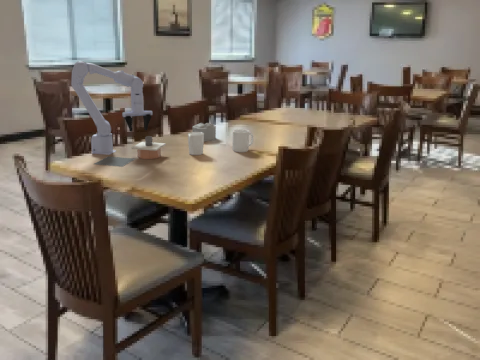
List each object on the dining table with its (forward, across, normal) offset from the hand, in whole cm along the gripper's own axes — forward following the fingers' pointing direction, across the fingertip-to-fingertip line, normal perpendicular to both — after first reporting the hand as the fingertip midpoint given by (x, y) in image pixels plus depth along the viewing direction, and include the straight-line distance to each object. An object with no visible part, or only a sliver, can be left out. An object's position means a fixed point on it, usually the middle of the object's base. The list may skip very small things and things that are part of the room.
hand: (138, 130), depth 221 cm
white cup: (+11, +23, -17) cm, 30 cm away
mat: (+10, -17, -14) cm, 24 cm away
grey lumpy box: (+11, +43, +10) cm, 45 cm away
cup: (+11, +47, -22) cm, 53 cm away
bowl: (+10, 0, -13) cm, 16 cm away
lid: (+5, 0, -13) cm, 14 cm away
